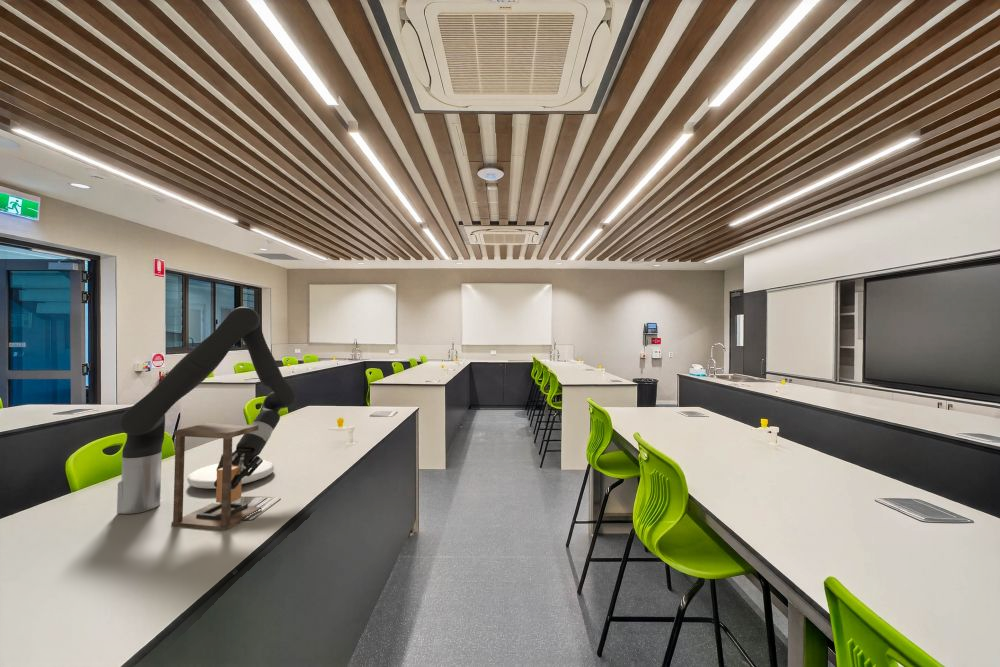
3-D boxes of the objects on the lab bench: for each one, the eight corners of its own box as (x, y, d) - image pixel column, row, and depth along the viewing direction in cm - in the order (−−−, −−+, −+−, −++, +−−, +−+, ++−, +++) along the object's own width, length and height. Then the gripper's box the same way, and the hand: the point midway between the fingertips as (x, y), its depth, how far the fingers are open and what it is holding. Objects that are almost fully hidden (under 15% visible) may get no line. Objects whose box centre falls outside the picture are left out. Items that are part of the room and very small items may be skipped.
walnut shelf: (212, 506, 122) (214, 421, 123) (261, 510, 119) (263, 423, 120) (171, 525, 109) (174, 430, 110) (225, 530, 106) (228, 433, 107)
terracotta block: (228, 496, 120) (229, 465, 121) (241, 497, 120) (241, 465, 120) (216, 502, 116) (216, 469, 116) (228, 503, 115) (229, 470, 115)
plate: (226, 456, 160) (288, 457, 159) (225, 472, 159) (287, 473, 158) (167, 471, 132) (242, 473, 132) (165, 491, 131) (240, 492, 131)
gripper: (230, 431, 127) (195, 480, 114) (268, 433, 125) (237, 483, 112) (243, 443, 132) (211, 491, 120) (279, 445, 130) (250, 494, 117)
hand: (223, 487), depth 116 cm, fingers closed on terracotta block, 4 cm apart
